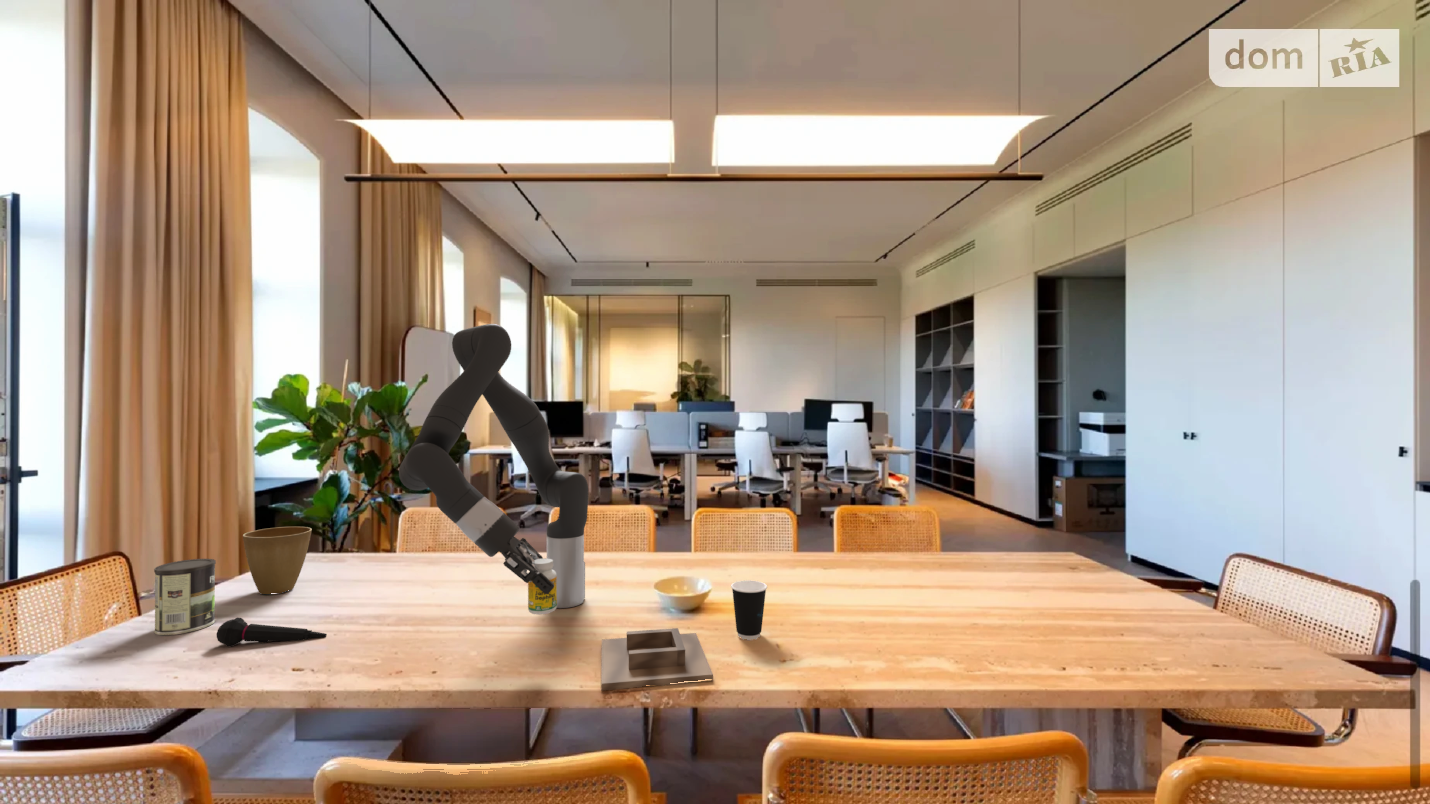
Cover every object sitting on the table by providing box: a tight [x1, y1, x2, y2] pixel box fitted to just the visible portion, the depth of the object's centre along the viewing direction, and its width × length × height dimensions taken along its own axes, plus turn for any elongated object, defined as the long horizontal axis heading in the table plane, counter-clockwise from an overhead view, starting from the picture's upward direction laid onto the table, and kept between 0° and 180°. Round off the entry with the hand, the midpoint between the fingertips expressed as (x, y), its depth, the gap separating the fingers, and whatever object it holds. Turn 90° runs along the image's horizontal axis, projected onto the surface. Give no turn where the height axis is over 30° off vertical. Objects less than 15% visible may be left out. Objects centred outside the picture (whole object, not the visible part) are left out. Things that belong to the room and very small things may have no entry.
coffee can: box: [153, 558, 217, 636], centre depth 133 cm, size 10×10×14 cm
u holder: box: [600, 627, 714, 691], centre depth 115 cm, size 20×20×4 cm
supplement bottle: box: [527, 557, 558, 615], centre depth 114 cm, size 5×5×10 cm
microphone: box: [216, 617, 328, 647], centre depth 125 cm, size 6×6×20 cm
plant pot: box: [242, 526, 312, 595], centre depth 159 cm, size 15×15×16 cm
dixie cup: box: [730, 579, 768, 641], centre depth 129 cm, size 8×8×11 cm
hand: (552, 585), depth 115 cm, fingers closed on supplement bottle, 5 cm apart
